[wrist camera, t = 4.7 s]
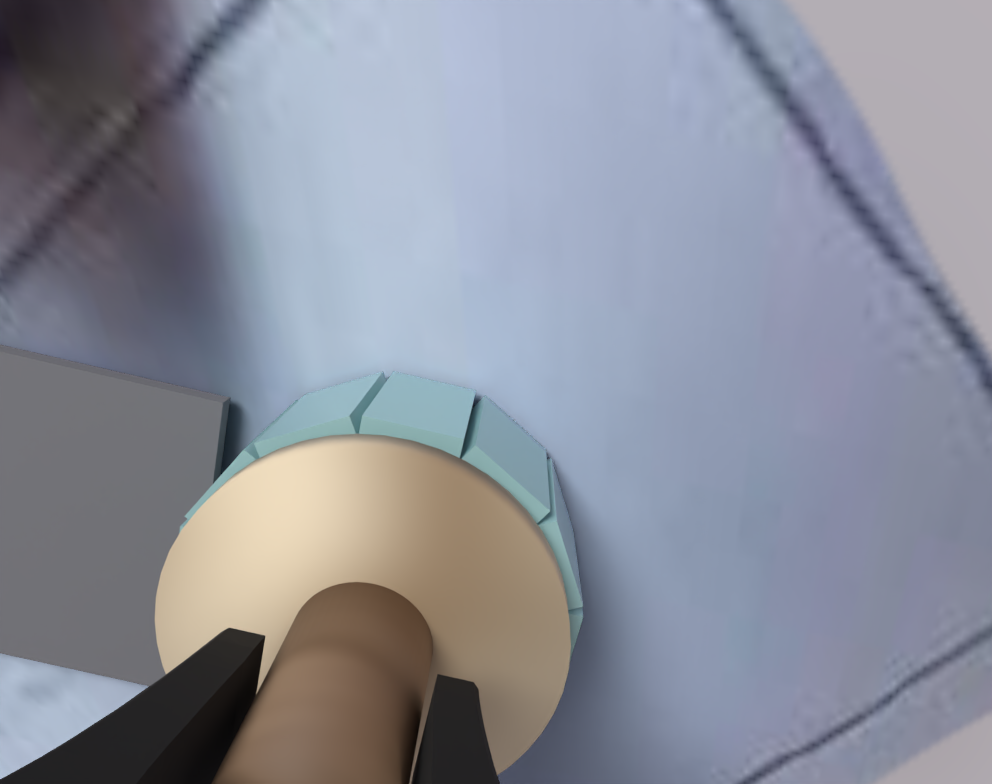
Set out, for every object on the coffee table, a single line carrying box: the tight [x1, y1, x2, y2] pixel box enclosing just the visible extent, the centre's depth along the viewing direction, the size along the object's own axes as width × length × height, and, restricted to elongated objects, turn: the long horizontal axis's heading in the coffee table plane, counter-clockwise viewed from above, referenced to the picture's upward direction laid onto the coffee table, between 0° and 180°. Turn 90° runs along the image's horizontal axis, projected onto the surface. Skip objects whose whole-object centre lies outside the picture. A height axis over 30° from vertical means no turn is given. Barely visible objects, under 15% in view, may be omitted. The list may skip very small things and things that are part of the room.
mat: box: [0, 345, 230, 686], centre depth 17 cm, size 8×8×1 cm
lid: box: [155, 434, 571, 784], centre depth 12 cm, size 8×8×5 cm
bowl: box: [179, 371, 583, 663], centre depth 16 cm, size 8×8×3 cm
